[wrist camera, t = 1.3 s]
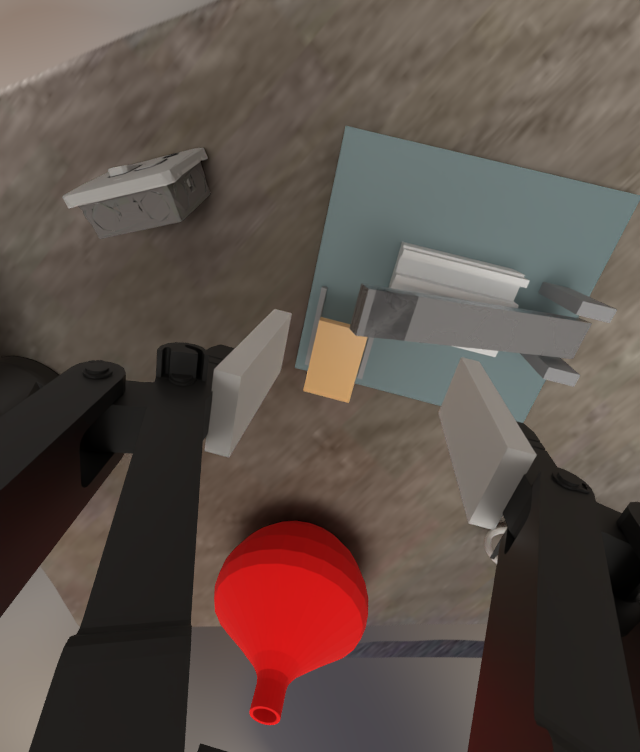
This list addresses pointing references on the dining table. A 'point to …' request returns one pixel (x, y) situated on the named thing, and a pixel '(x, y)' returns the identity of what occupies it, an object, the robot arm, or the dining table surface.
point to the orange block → (334, 360)
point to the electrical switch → (143, 194)
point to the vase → (290, 606)
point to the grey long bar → (464, 323)
